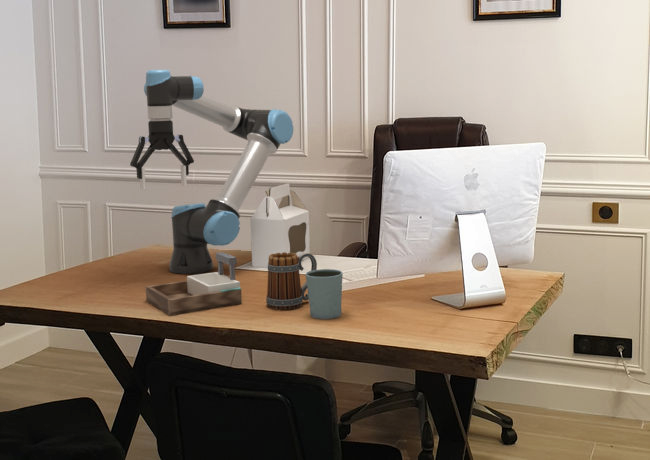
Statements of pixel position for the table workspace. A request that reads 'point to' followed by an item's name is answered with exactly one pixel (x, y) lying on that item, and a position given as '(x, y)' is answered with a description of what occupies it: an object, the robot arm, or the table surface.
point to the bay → (189, 298)
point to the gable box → (279, 226)
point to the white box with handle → (214, 278)
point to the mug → (286, 281)
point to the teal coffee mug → (324, 293)
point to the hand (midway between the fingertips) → (163, 187)
